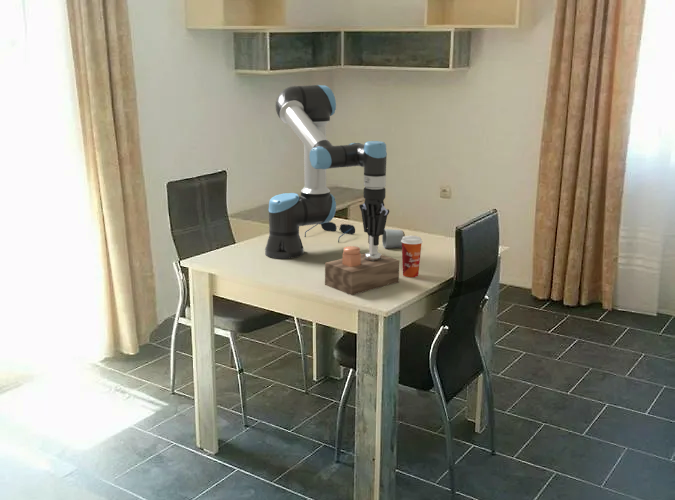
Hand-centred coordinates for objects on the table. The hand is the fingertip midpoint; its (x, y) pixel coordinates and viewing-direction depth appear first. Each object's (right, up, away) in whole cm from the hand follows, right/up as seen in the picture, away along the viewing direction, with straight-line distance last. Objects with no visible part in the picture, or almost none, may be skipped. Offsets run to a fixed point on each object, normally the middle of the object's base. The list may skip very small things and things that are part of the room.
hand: (373, 253), depth 270 cm
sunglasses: (-16, +7, +62) cm, 64 cm away
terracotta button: (-8, -6, -5) cm, 11 cm away
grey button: (0, -8, +2) cm, 8 cm away
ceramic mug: (+10, +2, +46) cm, 48 cm away
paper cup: (+14, -8, +9) cm, 19 cm away
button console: (-4, -10, 0) cm, 11 cm away
